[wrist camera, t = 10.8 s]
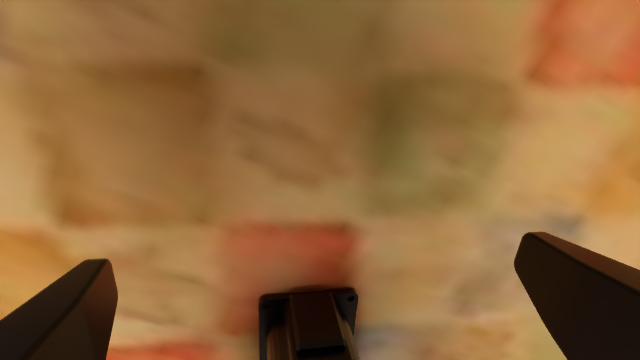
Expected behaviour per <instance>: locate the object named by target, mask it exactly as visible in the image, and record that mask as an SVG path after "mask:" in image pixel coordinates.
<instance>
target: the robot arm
mask: <svg viewBox="0 0 640 360" xmlns="http://www.w3.org/2000/svg"><path fill="white" fill-rule="evenodd" d="M514 267H515V271H516V273H517V275H518V277H519V278H520V280H521V282H522V284H523V286H524V288H525V289H526V291H527V293H528V295H529V297H530V299H531V301H532V302H533V304H534V306H535V308H536V310H537V312H538V314H539V315H540V317H541V319H542V321H543V323H544V324H545V326H546V328H547V329H548V331H549V333H550V334H551V336H552V337H553V339H554V340H555V342H556V343H557V345H558V346H559V348H560V349H561V351H562V352H563V354H564V355H565V357H566V358H567V360H640V270H638V269H636V268H633V267H631V266H628V265H626V264H623V263H621V262H618V261H616V260H613V259H611V258H608V257H606V256H603V255H601V254H598V253H596V252H593V251H591V250H588V249H586V248H583V247H581V246H578V245H576V244H573V243H571V242H568V241H566V240H563V239H561V238H558V237H556V236H553V235H551V234H548V233H546V232H528V233H526V234H525V235H524V236H523V237H522V239H521V242H520V245H519V248H518V251H517V254H516V257H515V260H514ZM349 296H351V297H349ZM117 301H118V292H117V287H116V282H115V278H114V273H113V269H112V265H111V262H110V261H109V260H108V259H105V258H104V259H88V260H84V261H83V262H81V263H80V264H78V265H77V266H76V267H74V268H73V269H71V270H70V271H69V272H67V273H66V274H64V275H63V276H62V277H60V278H59V279H57V280H56V281H55V282H53V283H52V284H50V285H49V286H48V287H46V288H45V289H43V290H42V291H41V292H39V293H38V294H36V295H35V296H34V297H32V298H31V299H29V300H28V301H27V302H25V303H24V304H22V305H21V306H20V307H18V308H17V309H15V310H14V311H13V312H11V313H10V314H8V315H7V316H6V317H4V318H3V319H1V320H0V360H106V356H107V351H108V346H109V341H110V336H111V331H112V327H113V322H114V317H115V312H116V307H117ZM265 303H269V304H267V305H265ZM357 303H358V295H357V292H356V291H355V290H354V289H340V290H328V291H317V292H305V293H293V294H281V295H269V296H263V297H262V298H260V300H259V359H260V360H360V357H359V354H358V351H357V347H356V344H355V341H354V338H353V333H354V326H355V318H356V310H357Z"/></svg>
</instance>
